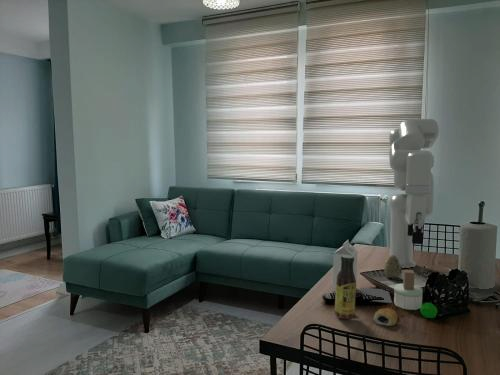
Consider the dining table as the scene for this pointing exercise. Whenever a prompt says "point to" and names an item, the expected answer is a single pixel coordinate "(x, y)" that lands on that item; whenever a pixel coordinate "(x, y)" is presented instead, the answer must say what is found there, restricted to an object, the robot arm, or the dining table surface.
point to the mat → (377, 294)
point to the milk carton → (344, 250)
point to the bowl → (407, 302)
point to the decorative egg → (392, 267)
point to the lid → (408, 286)
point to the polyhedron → (428, 310)
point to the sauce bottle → (345, 289)
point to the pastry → (385, 317)
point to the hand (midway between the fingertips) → (414, 239)
